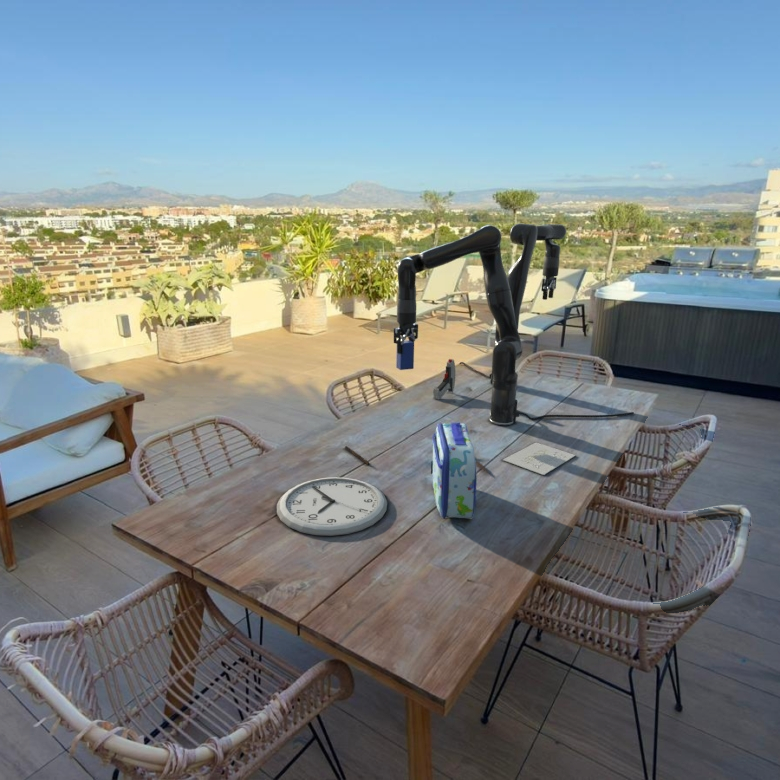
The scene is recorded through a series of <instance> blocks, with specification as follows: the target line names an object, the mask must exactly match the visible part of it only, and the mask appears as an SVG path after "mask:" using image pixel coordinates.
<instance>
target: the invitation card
mask: <svg viewBox="0 0 780 780" xmlns="http://www.w3.org/2000/svg"><path fill="white" fill-rule="evenodd" d="M576 456H577V455H576V454H573V453H570V452H567V451H565V450H561V449H558V448H555V447H552V446H549V445H546V444H543V443H539V442H534V443H532V444H529V445H528V446H526V447H524V448H522V449H520V450H518V451H516V452H514V453H512V454H510V455H509V456H507V457H505V458H503V459H502V461H503V462H506V463H509V464H511V465H514V466H518V467H520V468H523V469H525V470H528V471H531V472H534V473H536V474H539V475H541V476H545V475H547V474H548V473H550V472H552V471H554V469H556V468H558V467H559V466H561V465H563V464H564V463H566V462H568V461H570V460H571V459H572V458H574V457H576Z"/></svg>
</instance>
